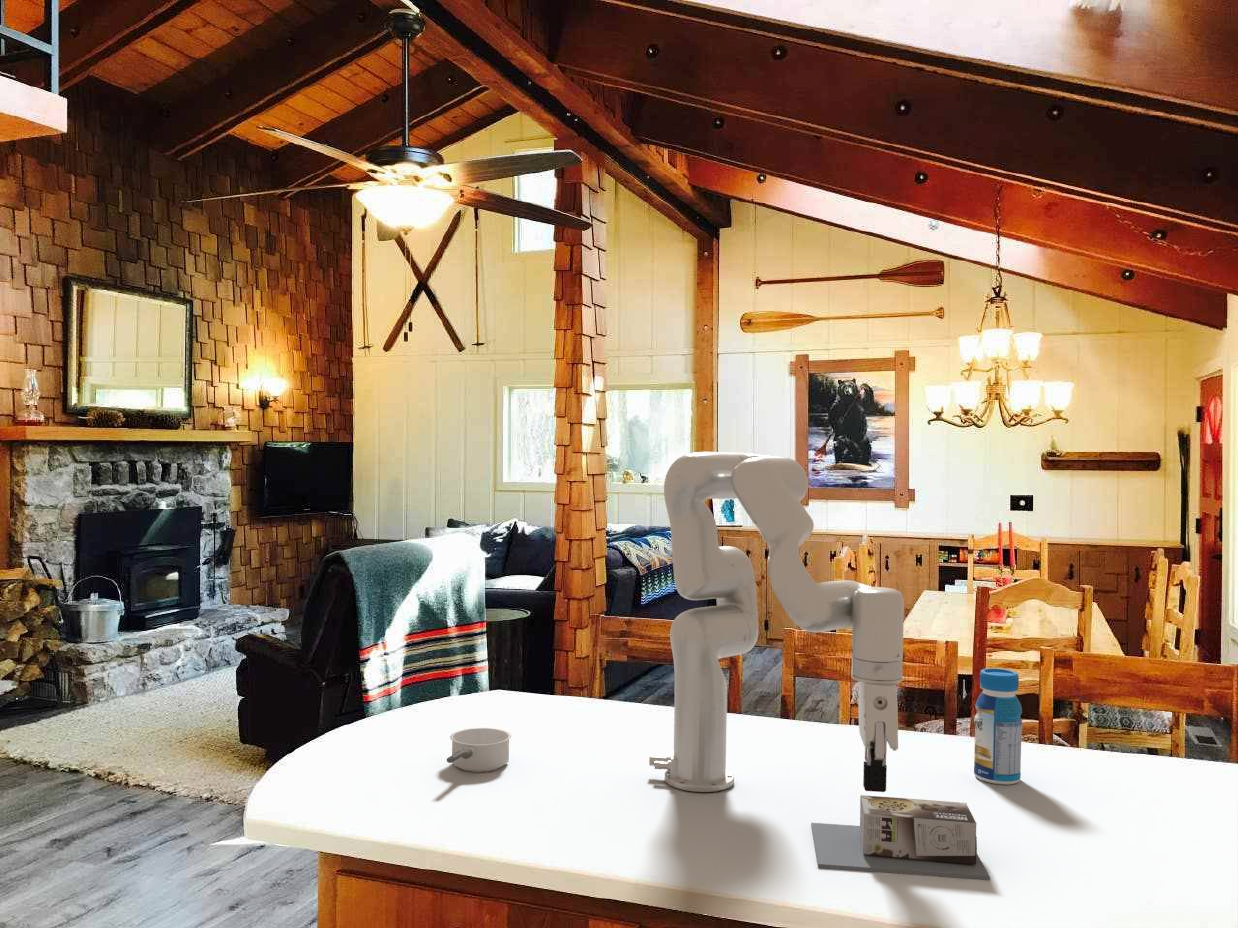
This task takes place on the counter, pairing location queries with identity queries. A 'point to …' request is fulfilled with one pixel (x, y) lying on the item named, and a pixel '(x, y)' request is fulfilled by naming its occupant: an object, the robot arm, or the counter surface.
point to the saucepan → (480, 749)
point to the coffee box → (918, 829)
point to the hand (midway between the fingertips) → (874, 789)
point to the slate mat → (845, 852)
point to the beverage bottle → (998, 728)
